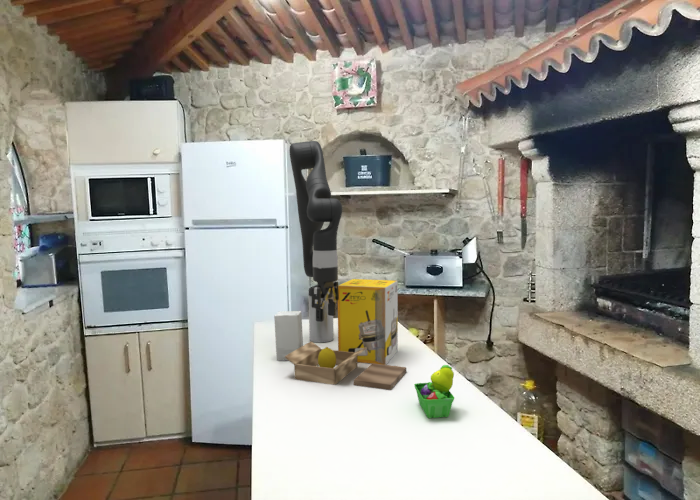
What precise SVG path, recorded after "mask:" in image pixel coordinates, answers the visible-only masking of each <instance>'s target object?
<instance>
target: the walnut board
mask: <svg viewBox="0 0 700 500" xmlns="http://www.w3.org/2000/svg"><path fill="white" fill-rule="evenodd" d="M406 373H407V367H406V366H400V365H399V366H398V365H389V364H386V365H383V364H374V363H372V364H371V363H370V365H368V366H367V367H366V368H365V369H364V370H363V371H362V372H360V373H359V375H357V376H356V377H355V378H354V379H353V386H358V387H365V388H366V387H367V388H373V389H381V390H388V391H391V390H393V388H394V387H395V386H396V385H397V383H398V382H399V381H400V380H401V379H402V378H403V377H404V375H405V374H406Z"/></svg>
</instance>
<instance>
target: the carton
mask: <svg viewBox="0 0 700 500" xmlns="http://www.w3.org/2000/svg"><path fill="white" fill-rule="evenodd" d="M322 349H323V348H321V347H320V346H319V345H317V344H316V343H315V342H313V341H309V342H308V343H305V344H303V346H302V347H300V348H298V349H297V350H295V351H293V352H291V353H289V354H288V355H286V356H285V358H286V359H287V360H288V362H290V363H291V364H293V366H294V367H293V368H294V369H293V371H294V380H298V381H305V382H310V383H311V382H313V383H320V384H325V385H326V384H327V385H332V386H333V385H335V386H336V385H337V384H339V382H342V380H343V379H344V378H345V377H347V376H348V375H349V374H351V373H352V372H353V371H354V370H355V369H356V368H357V367H358V362H357V356H358V355H359V354H360V353H361V352H363V351H364V350H365V349H367V347H365V348H363V349H361V350H359V351H357V352H346V351H338V350H336V349H335V350H334V349H332V350H333V351H334V353H335V356H336V364H335V367H334V368H326V367H319V364H318V356H319V353H320V351H321V350H322Z"/></svg>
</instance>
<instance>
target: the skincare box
mask: <svg viewBox="0 0 700 500" xmlns="http://www.w3.org/2000/svg"><path fill="white" fill-rule="evenodd" d="M273 318H274V335H275V352H276V361H288V362H289V360H287V359H286V358H285V356H286V355H288V354H289V353H291V352H293V351H295V350H297V349H298V348H300V347H302V346H304V339H303V338H304V337H303V317H302V311H301V310H292V311H291V310H289V311H288V310H287V311H286V310H284V311H283V310H282V311H277V313H275V315H274V317H273Z"/></svg>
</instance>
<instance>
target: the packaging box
mask: <svg viewBox="0 0 700 500" xmlns="http://www.w3.org/2000/svg"><path fill="white" fill-rule="evenodd" d="M398 284H399V283H398V280H394V279H393V280H392V279H391V280H389V279H387V280H386V279H365V278H363V279H360V278H352V279H350V280H347V281H345V282H343V283H340V284H338V291H339V300H337V342H338V343H337V346H338V347H337V348H338V350H337V351H346V352H357V351H359V350H361V349H363V348H365V347H367V349H365V350H364V351H363V352H361V353H360V354H359V355H358V356H357V363H363V364H370V365H371V364H372V363H374V364H383V365H388V363H389V362H390V361H391V360H392V358H393V357H394V356H395V355H396V354H397V352H398V349H399V348H398V347H399V343H398V342H399V338H398V337H399V334H398V331H399V329H398V324H399V323H398V322H399V317H398V316H399V315H398V314H399V313H398V311H399V309H398V308H399V306H398V305H399V302H398V296H399V294H398V293H399V292H398V291H399V290H398V288H399V285H398Z"/></svg>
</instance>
